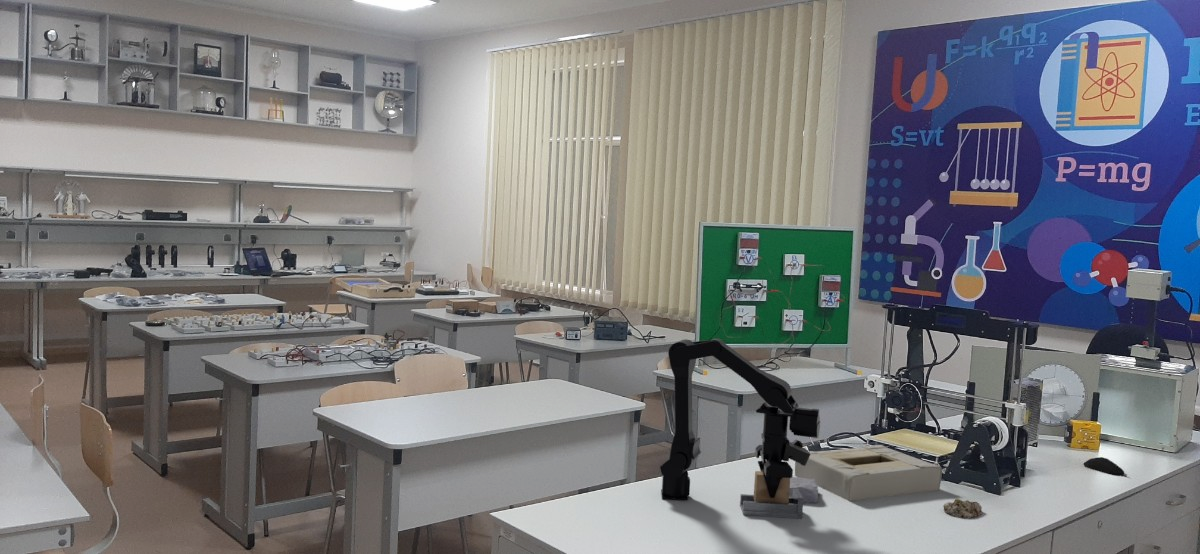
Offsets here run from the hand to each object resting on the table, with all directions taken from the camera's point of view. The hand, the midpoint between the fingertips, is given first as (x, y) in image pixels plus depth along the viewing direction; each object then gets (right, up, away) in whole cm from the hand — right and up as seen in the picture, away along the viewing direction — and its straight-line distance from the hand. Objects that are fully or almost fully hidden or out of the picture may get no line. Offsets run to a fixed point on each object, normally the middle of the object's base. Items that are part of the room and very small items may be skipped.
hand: (771, 495), depth 213 cm
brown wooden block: (0, -2, 0) cm, 2 cm away
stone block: (+9, -4, +15) cm, 18 cm away
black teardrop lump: (+112, -6, +51) cm, 123 cm away
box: (+32, -4, +28) cm, 43 cm away
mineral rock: (+49, -6, +6) cm, 50 cm away
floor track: (0, -4, 0) cm, 4 cm away
